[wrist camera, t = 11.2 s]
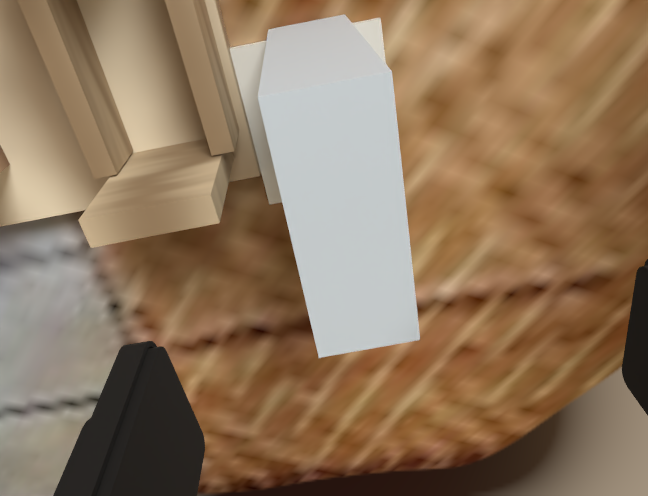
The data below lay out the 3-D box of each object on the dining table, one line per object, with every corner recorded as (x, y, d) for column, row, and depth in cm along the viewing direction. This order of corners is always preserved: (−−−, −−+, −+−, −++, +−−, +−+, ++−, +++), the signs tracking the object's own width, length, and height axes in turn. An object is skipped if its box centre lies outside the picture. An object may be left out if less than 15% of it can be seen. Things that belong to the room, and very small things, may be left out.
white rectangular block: (344, 14, 24) (392, 71, 14) (370, 194, 29) (419, 339, 18) (268, 29, 24) (257, 97, 14) (305, 206, 29) (319, 357, 18)
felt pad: (379, 17, 25) (380, 18, 24) (397, 176, 29) (399, 179, 28) (230, 47, 25) (229, 49, 24) (269, 201, 29) (269, 204, 28)
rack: (158, -233, 20) (89, -328, 13) (260, 167, 28) (253, 245, 21) (-227, -148, 20) (-502, -194, 13) (-17, 221, 28) (-118, 315, 21)
